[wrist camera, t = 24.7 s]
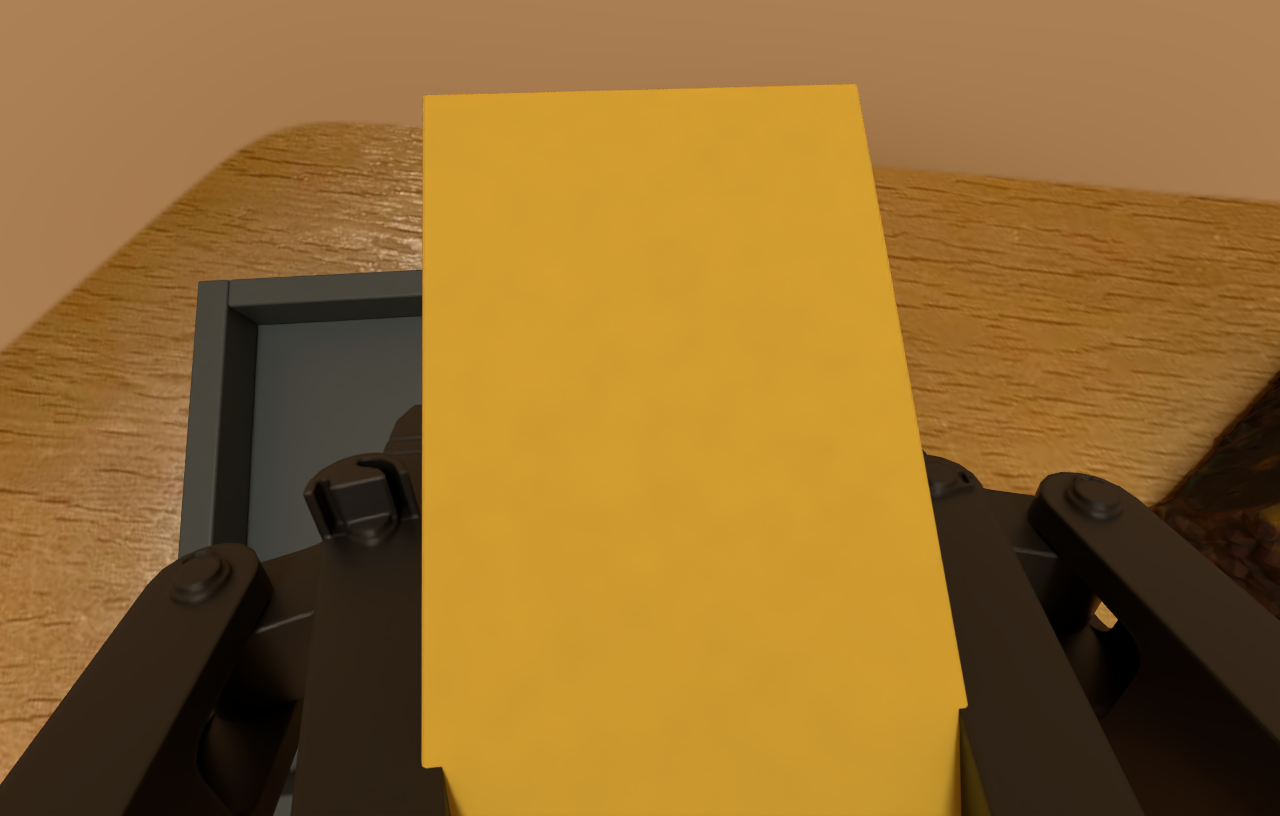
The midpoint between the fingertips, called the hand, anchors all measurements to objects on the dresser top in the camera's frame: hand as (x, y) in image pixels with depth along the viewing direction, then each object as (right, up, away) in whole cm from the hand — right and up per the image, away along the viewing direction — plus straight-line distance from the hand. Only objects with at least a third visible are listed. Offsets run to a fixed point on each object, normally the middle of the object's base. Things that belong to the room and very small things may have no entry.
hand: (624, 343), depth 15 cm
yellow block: (0, -4, +2) cm, 5 cm away
